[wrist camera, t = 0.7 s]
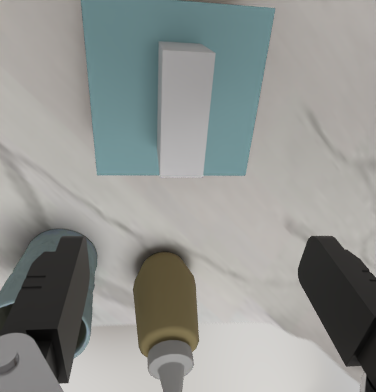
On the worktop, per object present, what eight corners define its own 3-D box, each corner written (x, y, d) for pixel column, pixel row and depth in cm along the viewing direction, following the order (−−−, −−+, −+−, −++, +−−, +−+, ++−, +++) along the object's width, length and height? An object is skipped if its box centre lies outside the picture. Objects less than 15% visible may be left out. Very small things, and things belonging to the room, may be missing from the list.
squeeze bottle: (163, 295, 47) (174, 436, 31) (121, 269, 43) (109, 415, 28) (203, 264, 44) (235, 399, 29) (162, 234, 41) (174, 372, 25)
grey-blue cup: (47, 290, 43) (18, 378, 33) (2, 237, 38) (-49, 322, 28) (115, 268, 43) (107, 350, 32) (80, 210, 37) (57, 287, 27)
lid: (266, 8, 23) (309, 8, 17) (240, 166, 30) (264, 206, 24) (84, -7, 21) (62, -12, 15) (99, 166, 28) (88, 209, 22)
